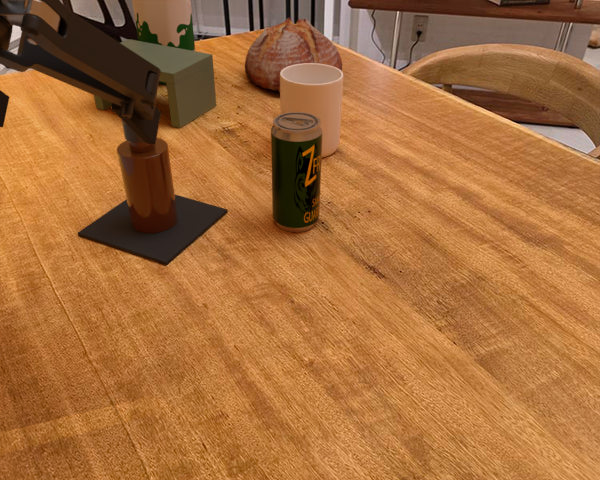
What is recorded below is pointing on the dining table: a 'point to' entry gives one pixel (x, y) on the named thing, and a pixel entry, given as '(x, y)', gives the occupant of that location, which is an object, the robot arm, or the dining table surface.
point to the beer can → (296, 170)
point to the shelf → (178, 79)
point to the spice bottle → (147, 183)
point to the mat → (159, 245)
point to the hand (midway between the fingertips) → (76, 119)
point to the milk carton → (165, 23)
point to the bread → (287, 52)
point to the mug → (315, 98)
